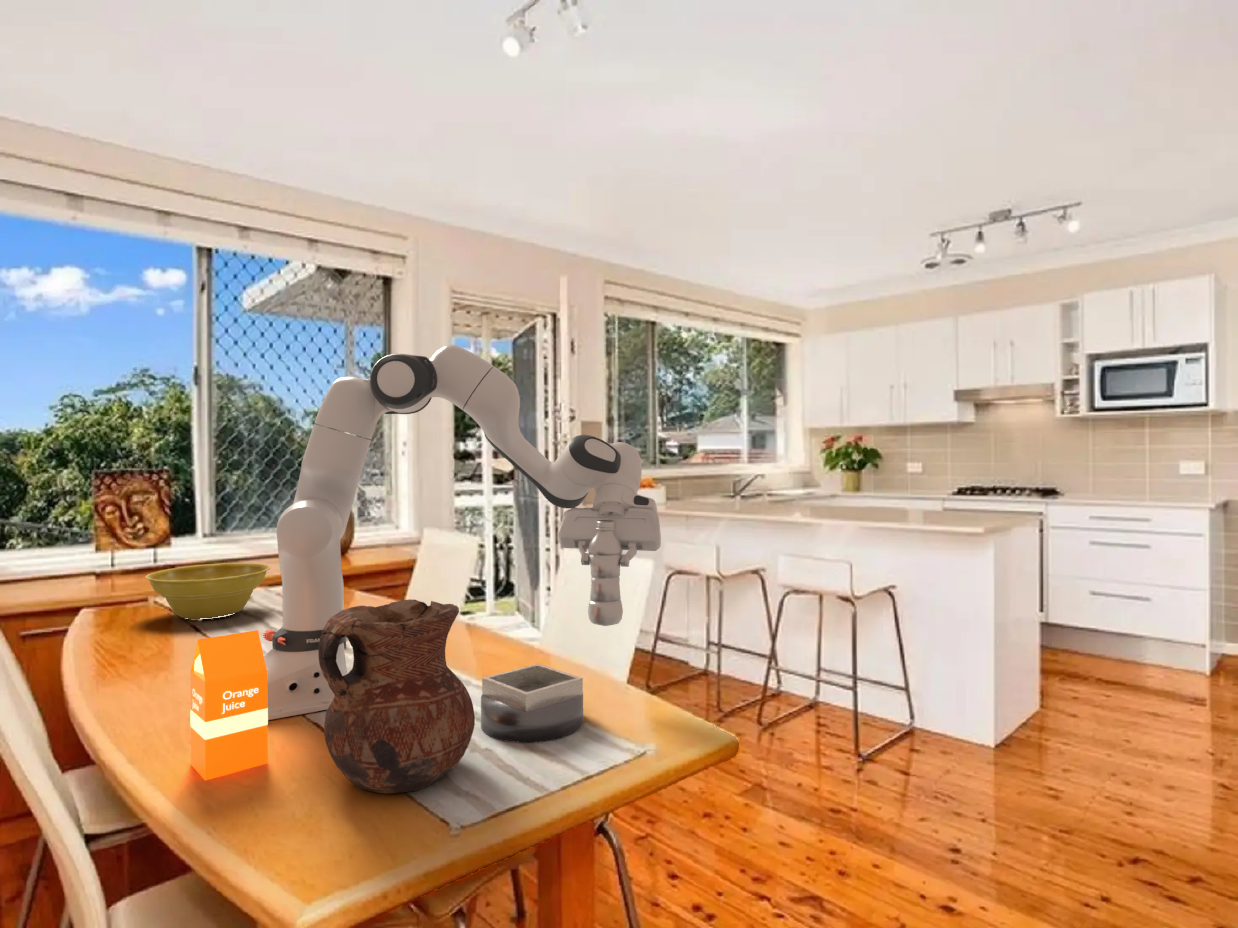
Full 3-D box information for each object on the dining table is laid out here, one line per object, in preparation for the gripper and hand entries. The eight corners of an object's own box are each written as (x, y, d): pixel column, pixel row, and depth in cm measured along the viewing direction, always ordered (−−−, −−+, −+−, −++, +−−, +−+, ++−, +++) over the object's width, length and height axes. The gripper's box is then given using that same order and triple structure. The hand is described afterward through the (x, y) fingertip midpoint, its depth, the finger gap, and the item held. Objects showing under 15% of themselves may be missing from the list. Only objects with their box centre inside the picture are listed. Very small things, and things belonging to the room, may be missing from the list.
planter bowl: (116, 626, 204) (116, 577, 204) (201, 603, 235) (200, 561, 235) (221, 631, 198) (220, 581, 198) (293, 606, 230) (292, 563, 230)
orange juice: (268, 763, 114) (267, 634, 113) (205, 780, 108) (204, 644, 107) (251, 748, 119) (250, 625, 119) (190, 764, 113) (189, 634, 113)
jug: (394, 737, 124) (393, 589, 124) (501, 757, 116) (501, 599, 116) (289, 793, 104) (288, 616, 103) (410, 822, 96) (410, 630, 95)
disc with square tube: (522, 751, 118) (522, 702, 118) (455, 720, 132) (455, 675, 132) (604, 722, 131) (604, 677, 131) (535, 696, 145) (535, 656, 145)
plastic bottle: (619, 629, 137) (620, 522, 137) (583, 627, 138) (584, 521, 138) (625, 622, 143) (626, 519, 143) (591, 620, 145) (592, 518, 144)
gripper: (562, 497, 149) (548, 552, 140) (662, 499, 146) (655, 555, 136) (567, 517, 154) (554, 571, 144) (664, 520, 150) (658, 575, 141)
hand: (604, 564), depth 140 cm, fingers closed on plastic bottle, 6 cm apart
